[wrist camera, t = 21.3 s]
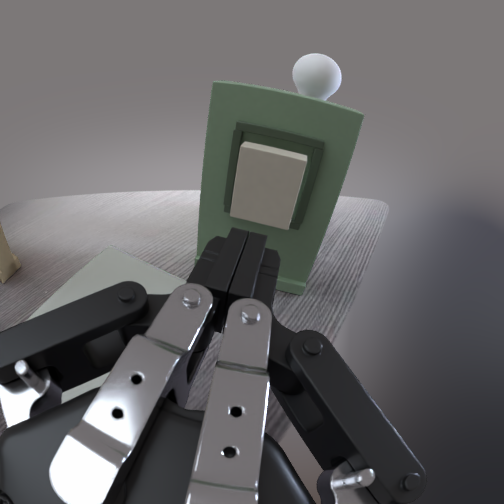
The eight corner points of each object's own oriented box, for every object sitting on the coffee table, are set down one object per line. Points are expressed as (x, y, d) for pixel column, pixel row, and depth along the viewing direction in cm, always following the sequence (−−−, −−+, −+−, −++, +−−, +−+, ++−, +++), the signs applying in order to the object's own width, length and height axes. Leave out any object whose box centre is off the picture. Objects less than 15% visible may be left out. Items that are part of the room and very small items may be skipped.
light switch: (63, 461, 9) (-18, 364, 11) (71, 464, 9) (-10, 372, 11) (198, 282, 22) (110, 241, 24) (198, 292, 22) (112, 251, 24)
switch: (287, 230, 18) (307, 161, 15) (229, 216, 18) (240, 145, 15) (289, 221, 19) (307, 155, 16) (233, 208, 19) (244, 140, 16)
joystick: (239, 252, 28) (280, 39, 15) (216, 212, 33) (242, 41, 20) (326, 239, 32) (379, 74, 20) (294, 206, 37) (331, 63, 25)
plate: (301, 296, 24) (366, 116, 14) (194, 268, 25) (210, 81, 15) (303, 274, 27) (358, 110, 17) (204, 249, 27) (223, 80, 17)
